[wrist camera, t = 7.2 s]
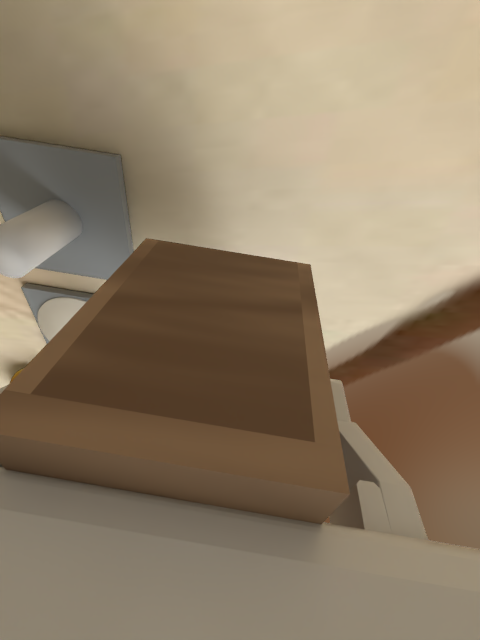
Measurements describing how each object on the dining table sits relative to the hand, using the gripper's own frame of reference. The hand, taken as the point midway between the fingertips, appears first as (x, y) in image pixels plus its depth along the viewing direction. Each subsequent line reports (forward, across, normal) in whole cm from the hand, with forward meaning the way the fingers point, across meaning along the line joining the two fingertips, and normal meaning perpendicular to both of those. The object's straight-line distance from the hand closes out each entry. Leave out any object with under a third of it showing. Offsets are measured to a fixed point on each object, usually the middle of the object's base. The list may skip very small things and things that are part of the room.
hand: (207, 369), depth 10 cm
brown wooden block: (+3, 0, 0) cm, 3 cm away
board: (+10, +11, 0) cm, 15 cm away
